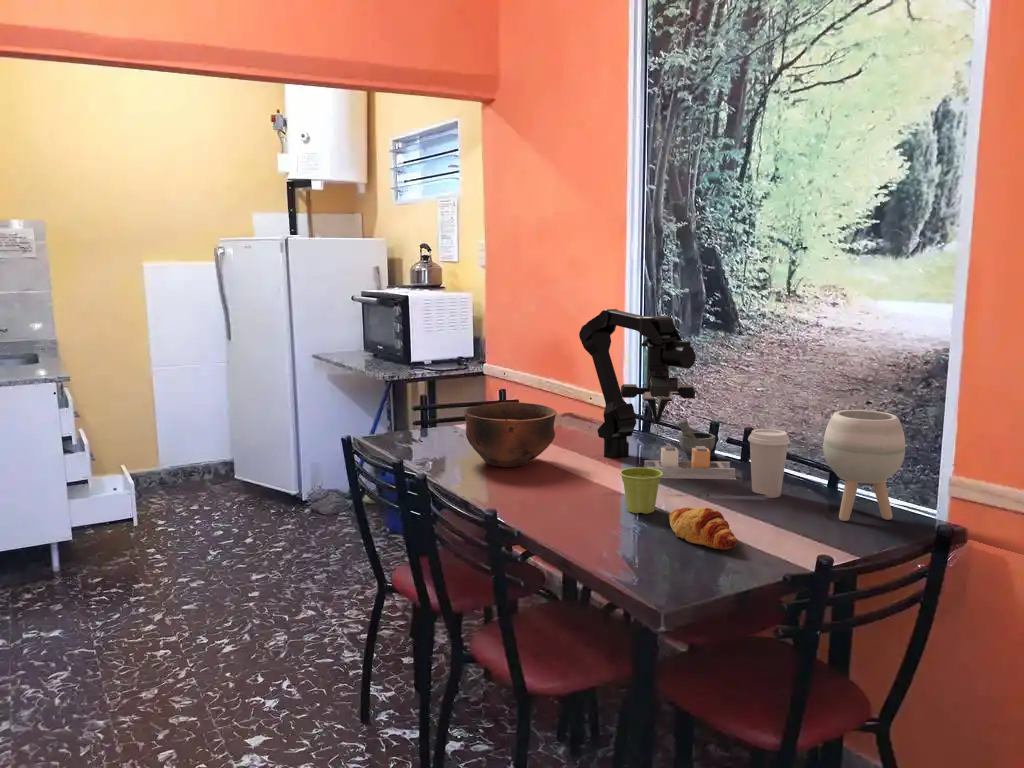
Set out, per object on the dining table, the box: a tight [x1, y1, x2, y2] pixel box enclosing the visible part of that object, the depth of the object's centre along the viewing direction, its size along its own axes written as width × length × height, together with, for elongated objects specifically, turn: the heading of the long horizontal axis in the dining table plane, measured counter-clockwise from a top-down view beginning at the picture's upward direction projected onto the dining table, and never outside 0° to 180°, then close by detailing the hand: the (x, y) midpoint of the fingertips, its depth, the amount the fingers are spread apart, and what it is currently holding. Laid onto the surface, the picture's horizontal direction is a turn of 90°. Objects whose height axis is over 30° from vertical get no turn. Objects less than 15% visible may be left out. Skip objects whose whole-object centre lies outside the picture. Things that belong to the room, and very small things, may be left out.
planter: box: [822, 409, 906, 522], centre depth 175 cm, size 16×16×22 cm
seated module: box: [660, 445, 680, 467], centre depth 210 cm, size 4×4×7 cm
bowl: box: [462, 401, 558, 468], centre depth 221 cm, size 25×25×15 cm
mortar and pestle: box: [677, 418, 716, 460], centre depth 226 cm, size 11×9×12 cm
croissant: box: [668, 506, 738, 551], centre depth 162 cm, size 21×10×8 cm, turn 24°
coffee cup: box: [747, 428, 791, 499], centre depth 192 cm, size 10×10×15 cm
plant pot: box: [619, 467, 663, 515], centre depth 180 cm, size 9×9×9 cm
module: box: [691, 446, 711, 468], centre depth 209 cm, size 4×4×7 cm
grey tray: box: [643, 459, 737, 480], centre depth 210 cm, size 22×12×3 cm, turn 86°
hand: (656, 423), depth 214 cm, fingers closed
